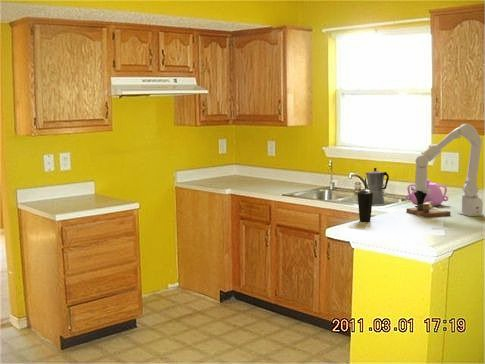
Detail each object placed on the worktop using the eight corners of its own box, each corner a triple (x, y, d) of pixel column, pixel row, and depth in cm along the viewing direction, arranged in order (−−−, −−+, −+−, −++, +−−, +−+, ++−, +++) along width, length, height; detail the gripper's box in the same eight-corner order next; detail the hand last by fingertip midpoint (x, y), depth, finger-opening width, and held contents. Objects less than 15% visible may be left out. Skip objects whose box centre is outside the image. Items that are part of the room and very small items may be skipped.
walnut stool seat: (450, 215, 287) (450, 203, 286) (425, 217, 283) (425, 205, 282) (430, 210, 302) (430, 199, 301) (406, 212, 298) (406, 200, 297)
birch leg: (427, 206, 302) (428, 200, 302) (433, 206, 300) (433, 201, 300) (416, 210, 290) (416, 204, 290) (422, 210, 288) (422, 205, 288)
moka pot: (369, 201, 334) (370, 166, 332) (393, 204, 323) (394, 168, 321) (360, 203, 328) (360, 167, 325) (384, 206, 317) (384, 169, 314)
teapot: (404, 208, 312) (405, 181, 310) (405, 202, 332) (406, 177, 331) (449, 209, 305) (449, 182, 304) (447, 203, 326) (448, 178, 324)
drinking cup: (376, 220, 276) (377, 178, 274) (367, 223, 270) (368, 179, 268) (362, 219, 281) (362, 177, 279) (353, 221, 275) (353, 178, 273)
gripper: (406, 178, 300) (405, 204, 302) (422, 181, 286) (421, 209, 288) (418, 177, 302) (417, 203, 304) (435, 180, 289) (434, 208, 290)
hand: (420, 206), depth 296 cm, fingers closed, pressing on birch leg
